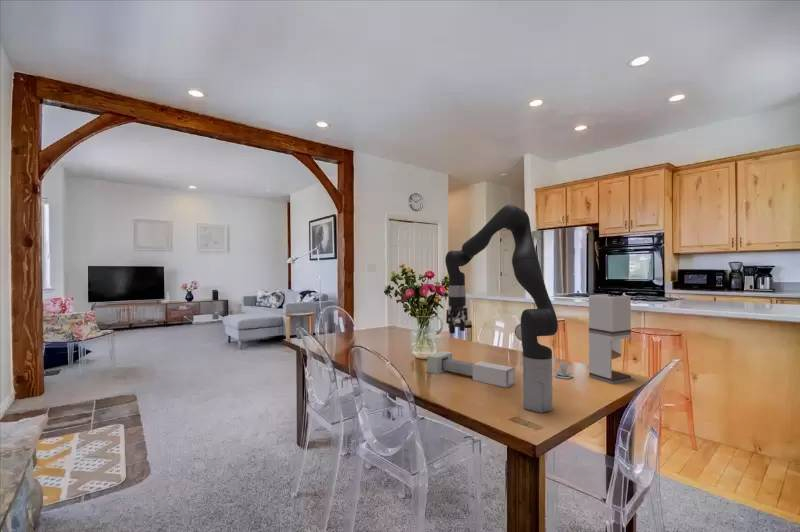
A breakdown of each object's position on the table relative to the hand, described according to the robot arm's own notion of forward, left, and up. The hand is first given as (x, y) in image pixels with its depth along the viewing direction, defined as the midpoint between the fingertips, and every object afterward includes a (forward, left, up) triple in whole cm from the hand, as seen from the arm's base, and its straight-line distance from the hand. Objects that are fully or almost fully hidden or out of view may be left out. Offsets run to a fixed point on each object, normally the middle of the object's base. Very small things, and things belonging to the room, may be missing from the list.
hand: (457, 332), depth 162 cm
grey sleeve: (0, -17, -19) cm, 25 cm away
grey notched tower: (+35, -53, -19) cm, 66 cm away
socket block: (0, +9, -19) cm, 21 cm away
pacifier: (+25, -37, -19) cm, 49 cm away
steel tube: (0, -2, -17) cm, 17 cm away
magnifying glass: (+33, -17, -19) cm, 41 cm away
